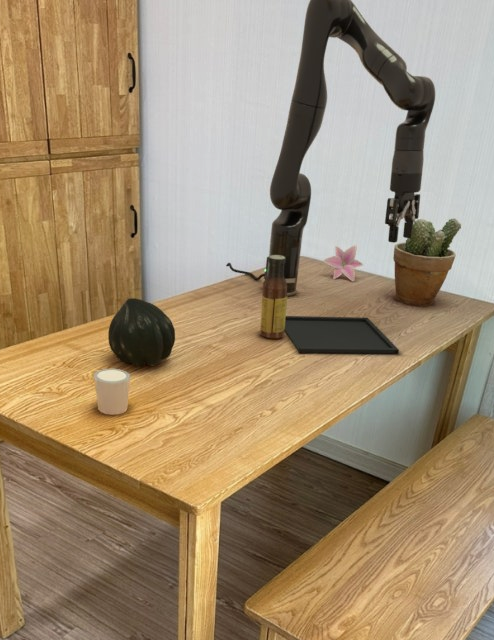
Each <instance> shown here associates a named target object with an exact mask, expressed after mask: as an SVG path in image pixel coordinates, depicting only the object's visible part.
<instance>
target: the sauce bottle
mask: <svg viewBox="0 0 494 640" xmlns="http://www.w3.org/2000/svg"><path fill="white" fill-rule="evenodd" d="M268 256H269V255H268ZM284 264H285V257H284V256H280V255H271V256H269V272H268V276H267V278H266V279H264V281H263V284H262V297H261V313H260V335H261V336H262V337H263V338H267V339H271V340H272V339H273V340H278V339H282V338H283V337H284V335H285V318H286V316H287V305H288V304H287V303H288V302H287V301H288V296H287V283H286V280H285V277H284Z"/></svg>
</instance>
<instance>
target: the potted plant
mask: <svg viewBox="0 0 494 640" xmlns="http://www.w3.org/2000/svg"><path fill="white" fill-rule="evenodd" d="M461 229H462V224H461V222H460V221H459V220H458V219H456V218H450V219H448V221H446V222H445V224H444V225H443V226H442V228H441V229H438V230H436V229H435V227H434V225H433V222H432V221H431V220H429V221H428V220H426V219H424V218H418V219H416V220H415V222H413V232H412V237H411V238H406V239H405V241H404V242H399V243H396V244H394V248H393V257H392V259H393V262H394V287H395V288H394V289H395V298H396V300H397V301H399V302H401V303H402V304H406V305H409V306H415V307H428V306H431V305H432V304H433V302H434V300H435V299H436V297H437V295H438V294H439V292H440V290H441V288H442V287H443V285H444V283H445V282H446V279H447V277H448V274H449V271H451V269H452V267H453V264H454V262H455V259H456V255H457V254H456V253H455V251H453V250H452V249H450V248H451V246H450V245H451V244H452V243H453V240H454V237H456V235H457V234H458V233H459V231H460V230H461Z"/></svg>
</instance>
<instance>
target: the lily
mask: <svg viewBox="0 0 494 640" xmlns="http://www.w3.org/2000/svg"><path fill="white" fill-rule="evenodd" d="M357 249H358V246H357V245H356V244H354V245H352V246H350V247H349V248H347V249H346V250H345V251H344V250H343V249H342V248H341V247H339V246H337V245H335V247H334V251H335V252H334V253H335V255H333V256H329V257H327V258H325V259H323V262H324V263H325V264H326V265H329V266H331V267H332V268H334V271H333V276H332V278H333V280H336V279H338V278H339V277H340V276H342V275H344V276H345V277H347V278H348V279H349V280H350V281H351V282H355V278H356V273H355V269H356V268H360V267H363V266H364V263H362V262H361V261H359V260H358V259H356V255H357Z"/></svg>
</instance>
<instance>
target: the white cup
mask: <svg viewBox="0 0 494 640" xmlns="http://www.w3.org/2000/svg"><path fill="white" fill-rule="evenodd" d="M93 381H94V389H95V394H96V402H97V403H96V404H97V409H98V411H99V412H100V413H101V414H105V415H111V416H114V415H121V414H124V413H125V412H127V410H128V405H129V396H130V395H129V394H130V384H131V383H130V382H131V374H130V373H129V372H127V371H126V370H123V369H118V368H104V369H100V370H97V371H95V372H94V373H93Z"/></svg>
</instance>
